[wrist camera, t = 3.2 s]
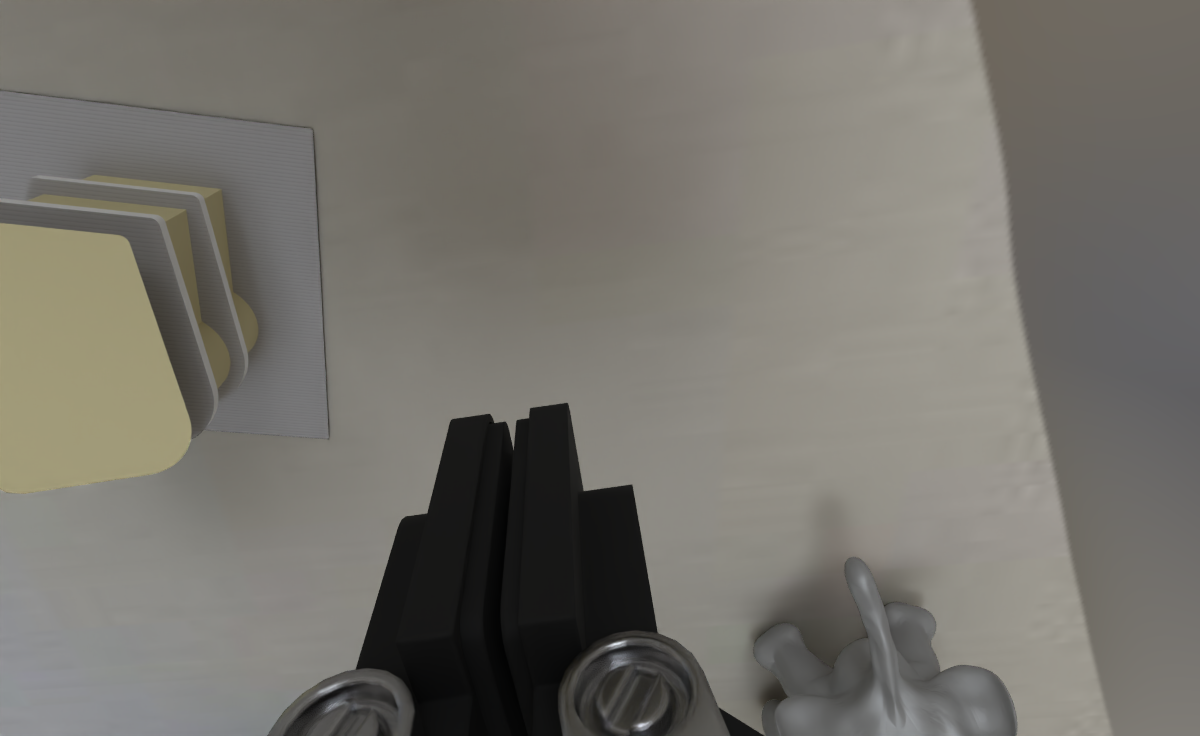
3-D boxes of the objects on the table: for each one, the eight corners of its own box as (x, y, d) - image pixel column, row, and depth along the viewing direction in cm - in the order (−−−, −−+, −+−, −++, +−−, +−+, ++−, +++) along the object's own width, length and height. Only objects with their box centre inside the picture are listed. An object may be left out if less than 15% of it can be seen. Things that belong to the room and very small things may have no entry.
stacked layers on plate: (-54, 83, 18) (-282, 115, 13) (313, 128, 19) (231, 174, 14) (38, 417, 22) (-104, 534, 17) (329, 438, 23) (272, 554, 18)
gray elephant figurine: (782, 735, 32) (844, 929, 26) (654, 580, 27) (689, 771, 21) (971, 653, 31) (1091, 838, 24) (871, 470, 26) (989, 639, 19)
